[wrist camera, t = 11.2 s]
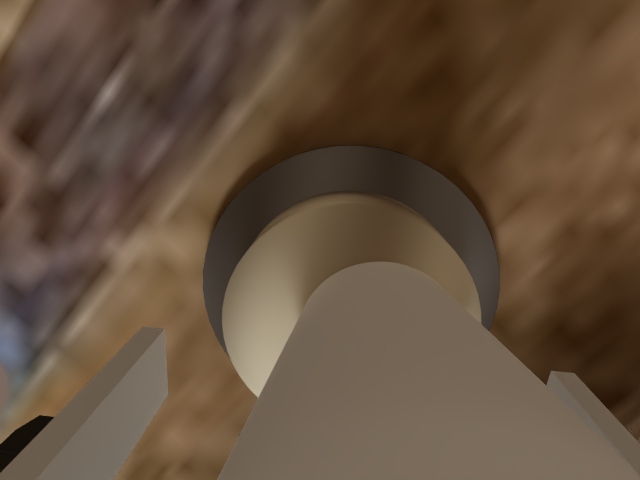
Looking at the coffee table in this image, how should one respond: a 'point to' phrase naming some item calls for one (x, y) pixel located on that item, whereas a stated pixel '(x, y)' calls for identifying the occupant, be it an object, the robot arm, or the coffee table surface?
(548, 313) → the coffee table surface
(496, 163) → the coffee table surface
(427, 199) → the pedestal
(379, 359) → the cup
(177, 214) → the coffee table surface
